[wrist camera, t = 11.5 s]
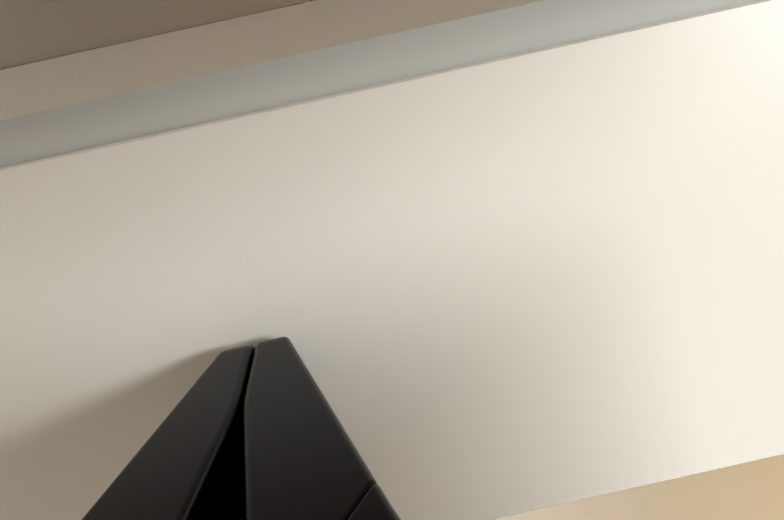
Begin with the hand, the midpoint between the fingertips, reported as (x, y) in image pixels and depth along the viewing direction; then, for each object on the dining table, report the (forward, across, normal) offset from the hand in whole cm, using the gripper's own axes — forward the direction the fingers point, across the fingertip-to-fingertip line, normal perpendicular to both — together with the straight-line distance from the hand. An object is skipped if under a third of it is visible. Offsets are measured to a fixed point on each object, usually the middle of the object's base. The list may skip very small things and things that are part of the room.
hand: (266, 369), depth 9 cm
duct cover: (+1, 0, -3) cm, 3 cm away
